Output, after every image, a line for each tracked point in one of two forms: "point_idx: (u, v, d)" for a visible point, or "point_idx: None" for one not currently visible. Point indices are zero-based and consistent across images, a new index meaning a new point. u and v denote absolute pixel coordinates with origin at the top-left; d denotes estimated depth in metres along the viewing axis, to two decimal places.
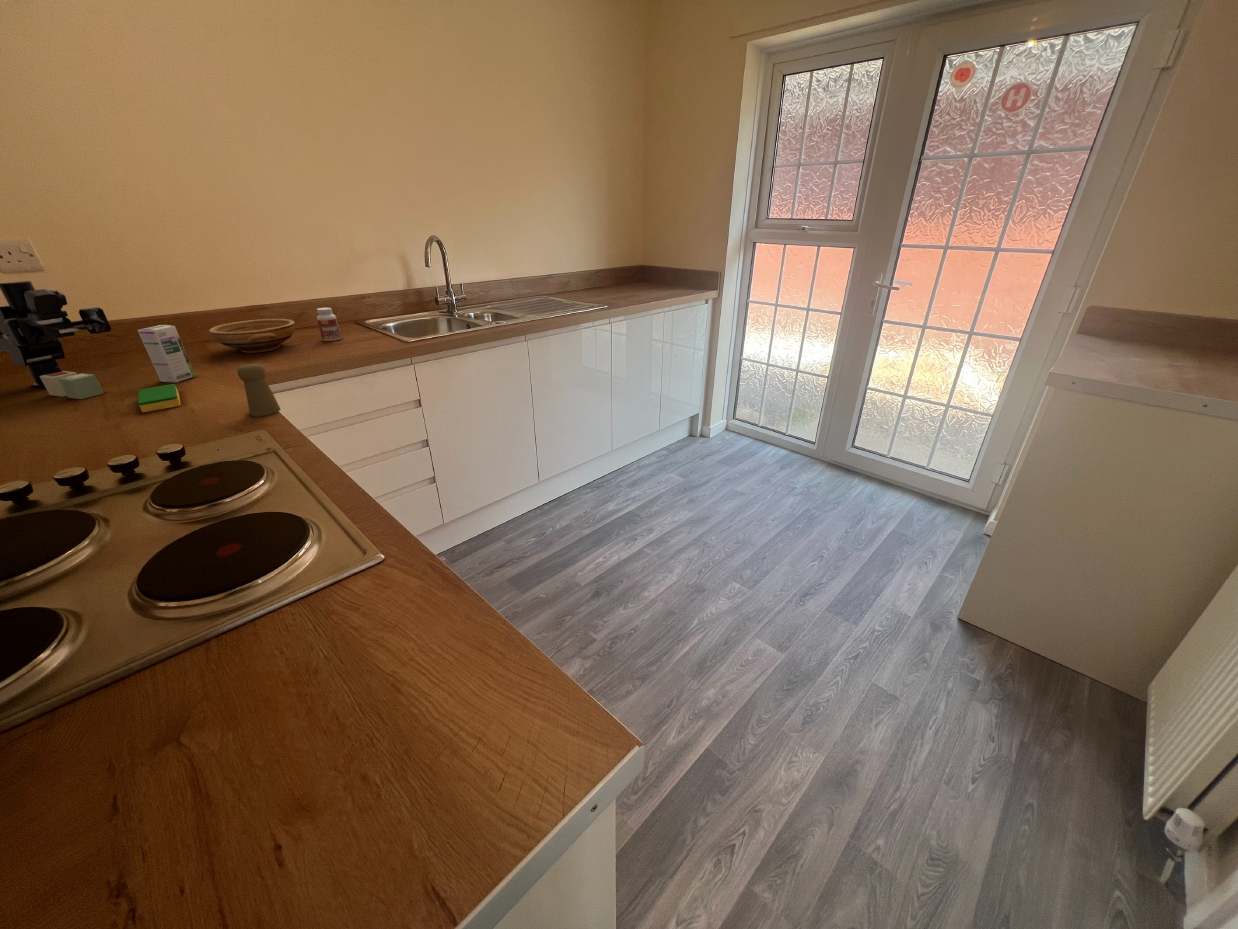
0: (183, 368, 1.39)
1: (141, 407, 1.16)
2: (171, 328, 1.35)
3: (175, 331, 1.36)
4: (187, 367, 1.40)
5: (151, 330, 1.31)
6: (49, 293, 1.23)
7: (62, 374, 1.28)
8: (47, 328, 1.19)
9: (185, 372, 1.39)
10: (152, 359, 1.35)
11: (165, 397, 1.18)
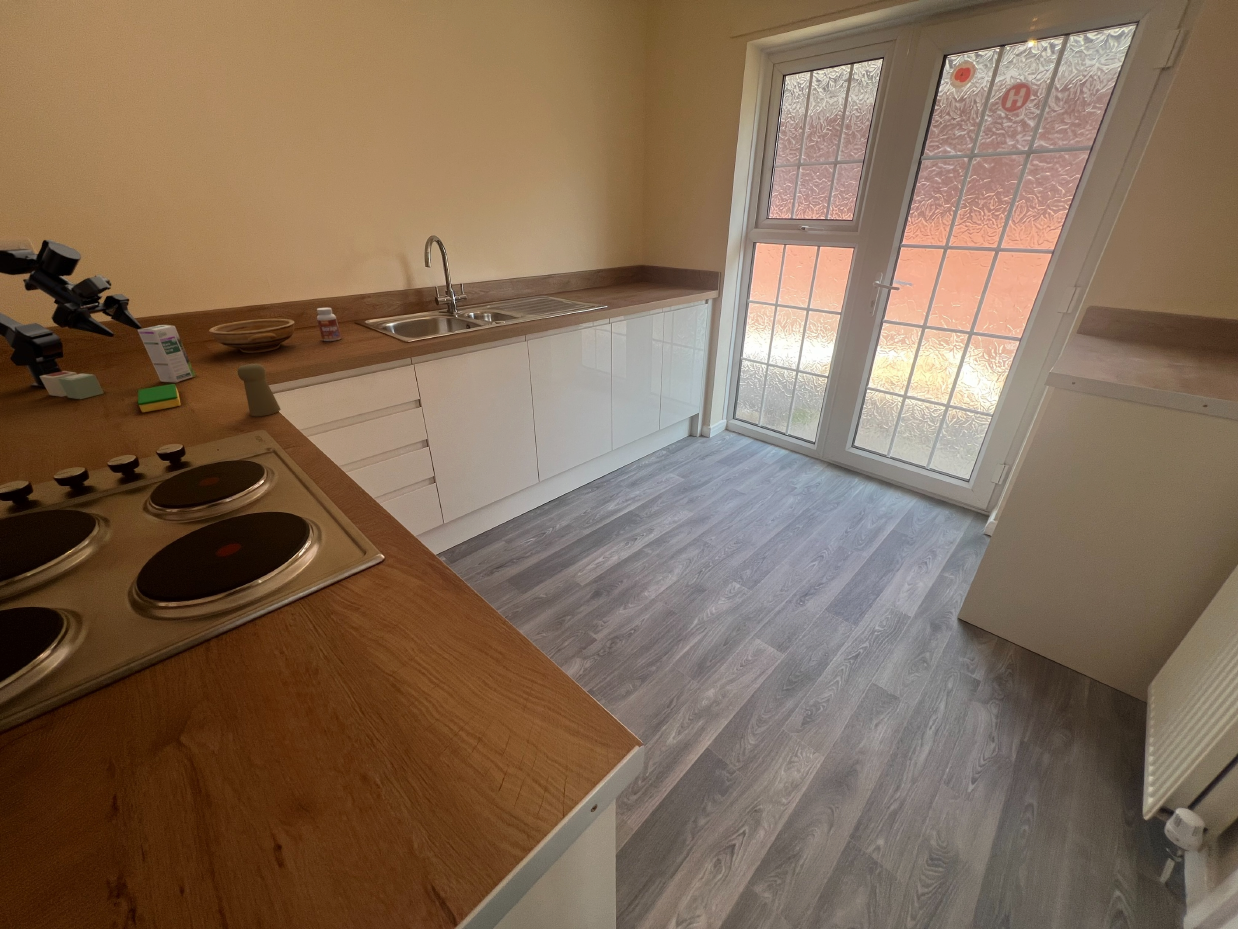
0: (183, 368, 1.39)
1: (141, 407, 1.16)
2: (171, 328, 1.35)
3: (175, 331, 1.36)
4: (187, 367, 1.40)
5: (151, 330, 1.31)
6: (107, 285, 1.30)
7: (62, 374, 1.28)
8: (103, 328, 1.28)
9: (185, 372, 1.39)
10: (152, 359, 1.35)
11: (165, 397, 1.18)
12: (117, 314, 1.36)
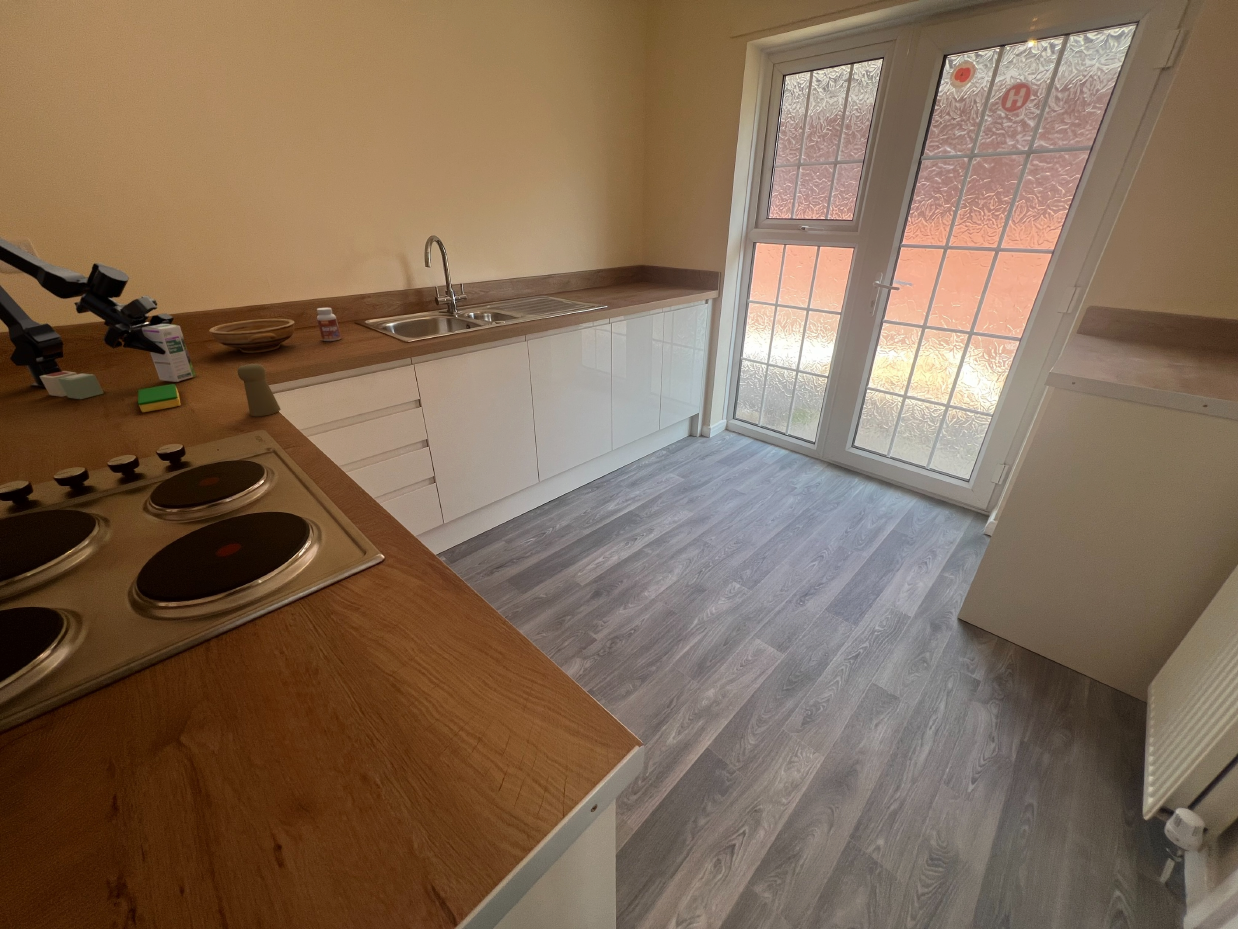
0: (184, 367, 1.39)
1: (141, 407, 1.16)
2: (176, 328, 1.35)
3: (180, 331, 1.36)
4: (188, 367, 1.40)
5: (157, 329, 1.31)
6: (153, 305, 1.32)
7: (62, 374, 1.28)
8: (155, 346, 1.32)
9: (186, 372, 1.39)
10: (153, 357, 1.35)
11: (165, 397, 1.18)
12: None
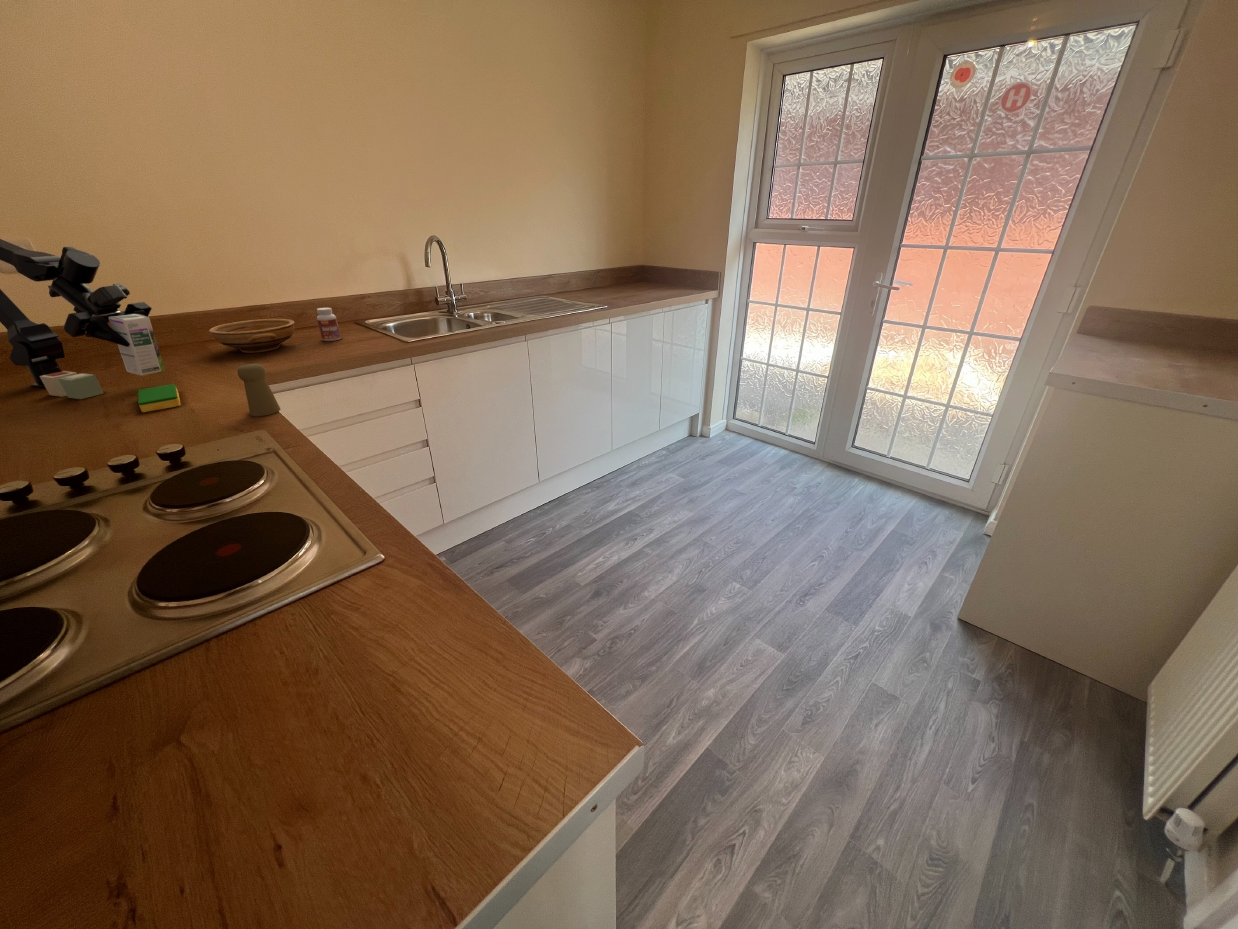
0: (151, 361, 1.31)
1: (141, 407, 1.16)
2: (144, 319, 1.28)
3: (148, 323, 1.29)
4: (156, 361, 1.32)
5: (121, 320, 1.24)
6: (122, 295, 1.25)
7: (62, 374, 1.28)
8: (118, 338, 1.25)
9: (153, 366, 1.32)
10: (120, 348, 1.28)
11: (165, 397, 1.18)
12: None
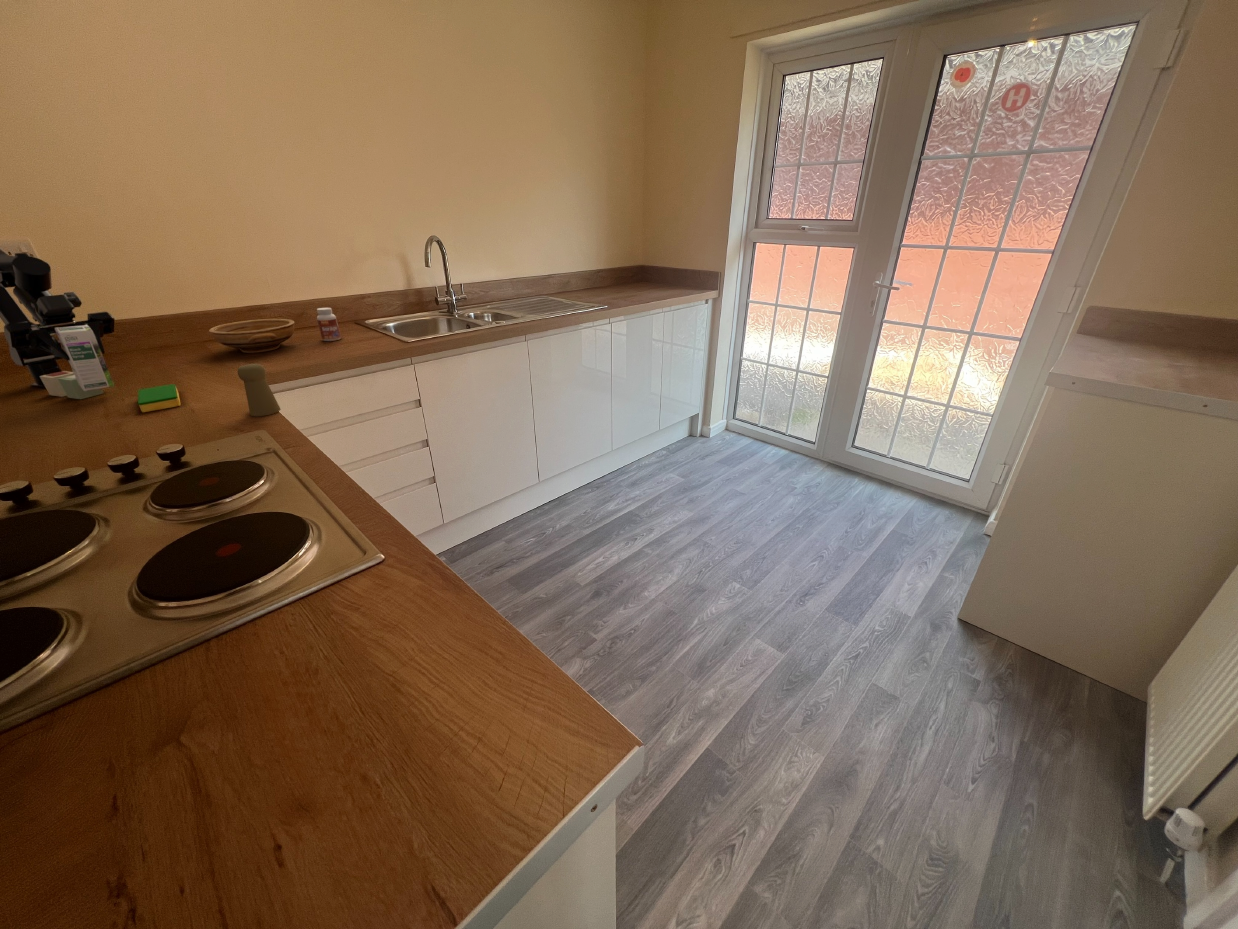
0: (96, 376, 1.22)
1: (141, 407, 1.16)
2: (86, 332, 1.18)
3: (92, 336, 1.19)
4: (103, 376, 1.23)
5: (58, 332, 1.15)
6: (66, 305, 1.17)
7: (62, 374, 1.28)
8: (58, 351, 1.17)
9: (99, 381, 1.23)
10: None
11: (165, 397, 1.18)
12: None
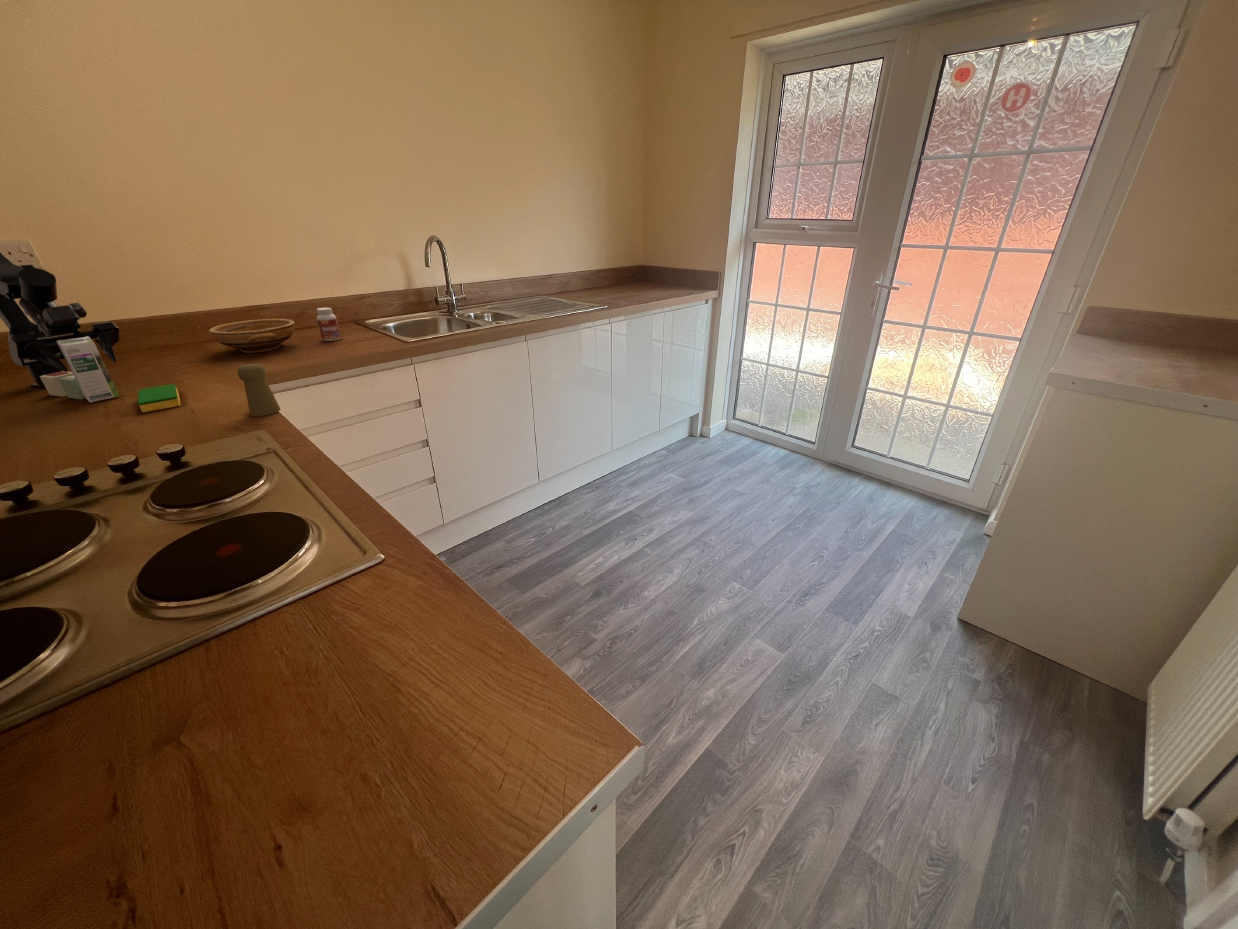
0: (100, 387, 1.23)
1: (141, 407, 1.16)
2: (87, 344, 1.19)
3: (93, 347, 1.20)
4: (107, 387, 1.24)
5: (60, 345, 1.16)
6: (72, 316, 1.18)
7: (62, 374, 1.28)
8: (56, 362, 1.17)
9: (103, 392, 1.24)
10: None
11: (165, 397, 1.18)
12: (101, 344, 1.26)
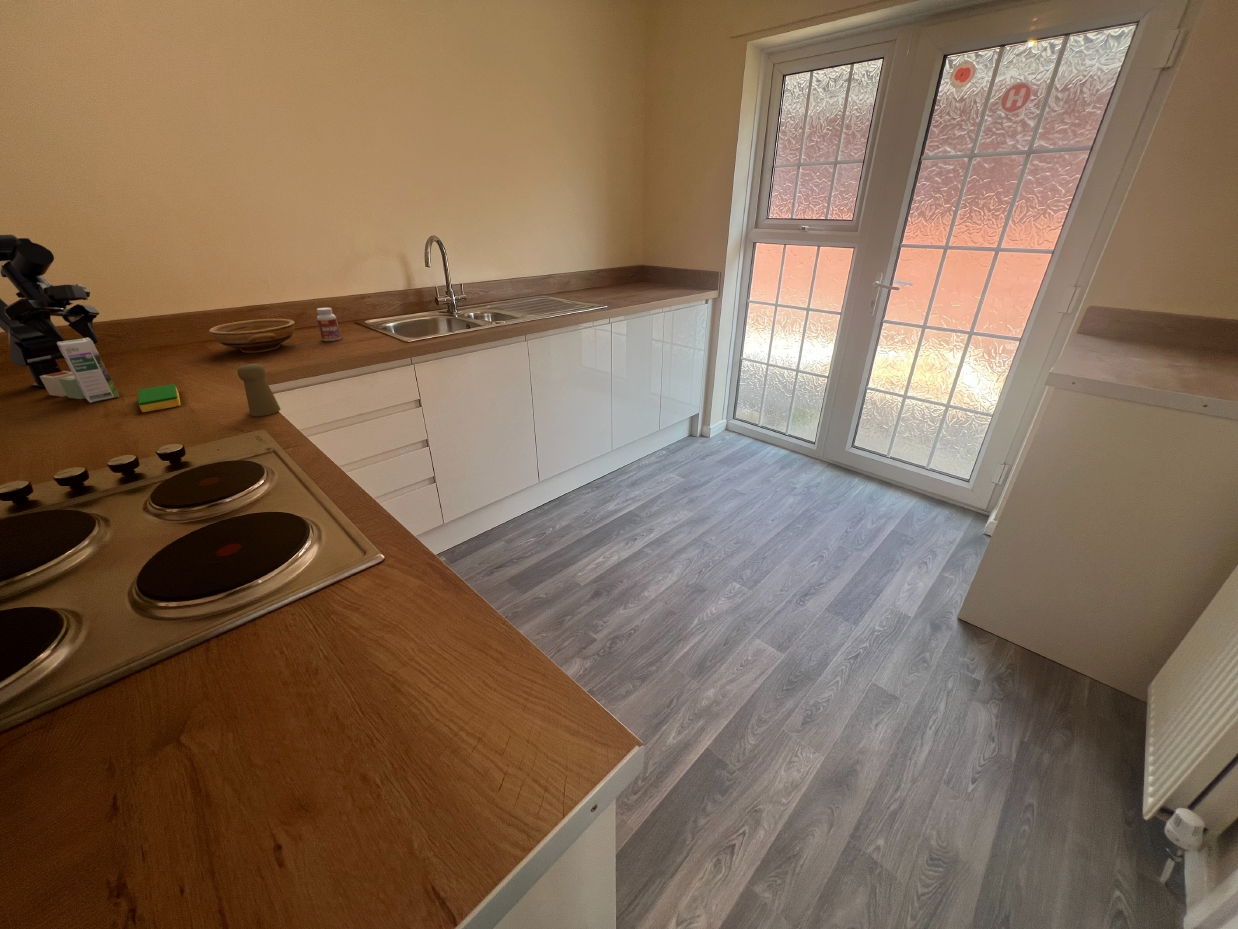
0: (100, 387, 1.23)
1: (141, 407, 1.16)
2: (86, 343, 1.20)
3: (92, 346, 1.21)
4: (107, 386, 1.24)
5: (59, 345, 1.17)
6: (84, 296, 1.26)
7: (62, 374, 1.28)
8: (56, 333, 1.21)
9: (103, 391, 1.24)
10: (73, 374, 1.23)
11: (165, 397, 1.18)
12: (78, 323, 1.30)
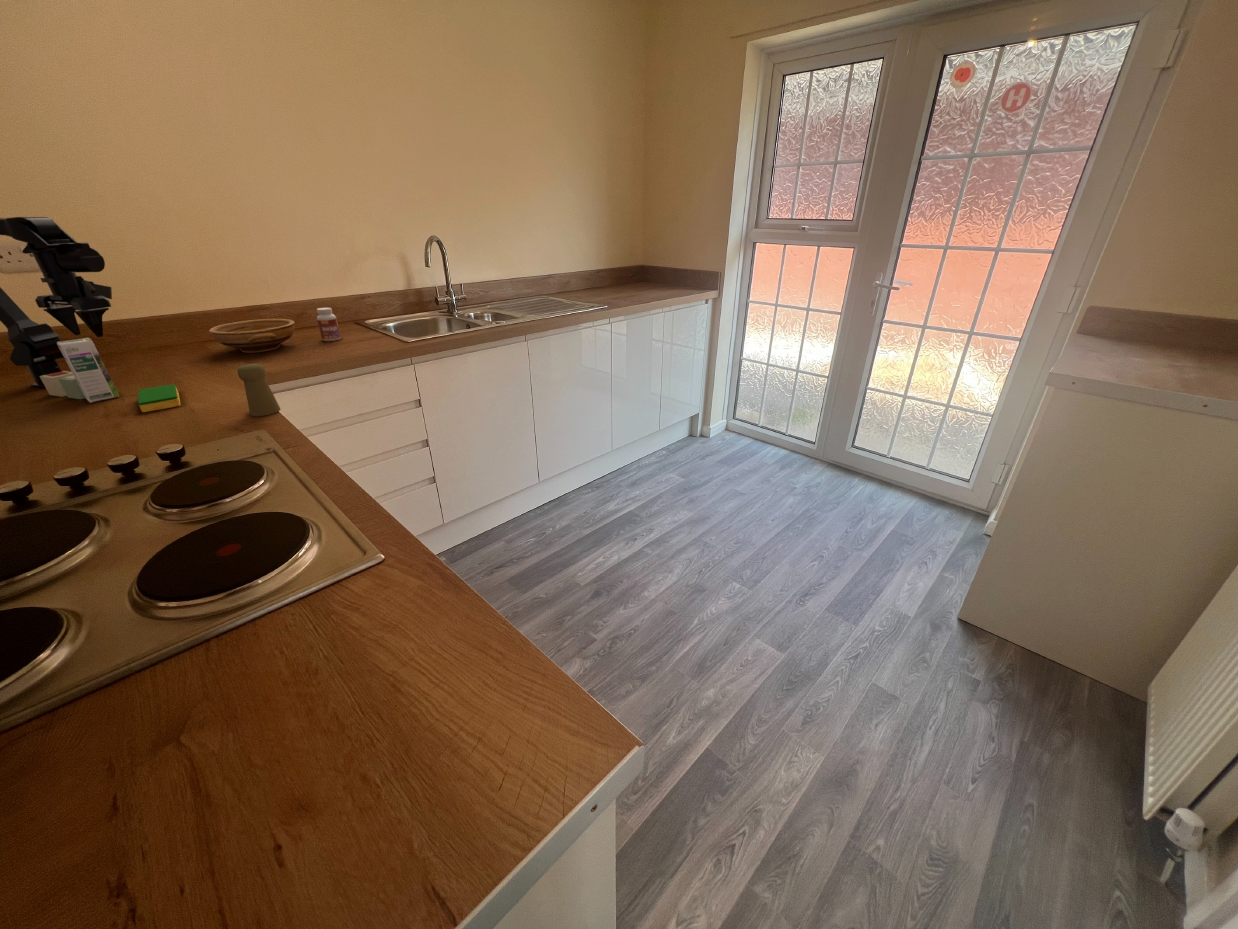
0: (100, 387, 1.23)
1: (141, 407, 1.16)
2: (86, 343, 1.20)
3: (92, 346, 1.21)
4: (107, 386, 1.24)
5: (59, 344, 1.17)
6: None
7: (62, 374, 1.28)
8: (101, 328, 1.30)
9: (103, 391, 1.24)
10: (73, 374, 1.23)
11: (165, 397, 1.18)
12: (62, 311, 1.30)
